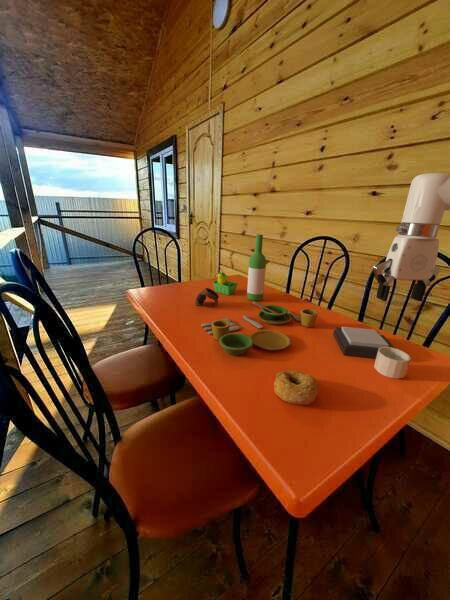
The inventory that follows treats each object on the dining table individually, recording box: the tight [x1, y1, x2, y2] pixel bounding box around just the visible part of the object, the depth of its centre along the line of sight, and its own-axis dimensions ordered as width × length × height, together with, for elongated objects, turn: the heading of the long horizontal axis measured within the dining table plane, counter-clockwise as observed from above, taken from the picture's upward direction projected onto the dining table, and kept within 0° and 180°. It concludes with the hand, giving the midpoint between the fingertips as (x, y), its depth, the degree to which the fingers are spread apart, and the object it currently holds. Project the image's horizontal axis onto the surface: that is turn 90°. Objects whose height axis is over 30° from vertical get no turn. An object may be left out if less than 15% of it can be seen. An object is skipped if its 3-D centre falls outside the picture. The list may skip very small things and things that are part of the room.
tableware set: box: [200, 301, 319, 357], centre depth 88 cm, size 41×28×6 cm
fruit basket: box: [212, 271, 239, 296], centre depth 128 cm, size 11×9×11 cm
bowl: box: [373, 347, 412, 380], centre depth 67 cm, size 7×7×6 cm
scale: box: [332, 326, 396, 360], centre depth 80 cm, size 16×14×3 cm
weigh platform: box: [341, 326, 389, 348], centre depth 80 cm, size 10×10×2 cm
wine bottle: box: [246, 233, 267, 302], centre depth 117 cm, size 8×8×30 cm
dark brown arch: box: [194, 287, 220, 307], centre depth 111 cm, size 12×9×8 cm
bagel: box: [273, 370, 320, 406], centre depth 58 cm, size 10×11×5 cm
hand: (398, 299), depth 66 cm, fingers open, 9 cm apart
